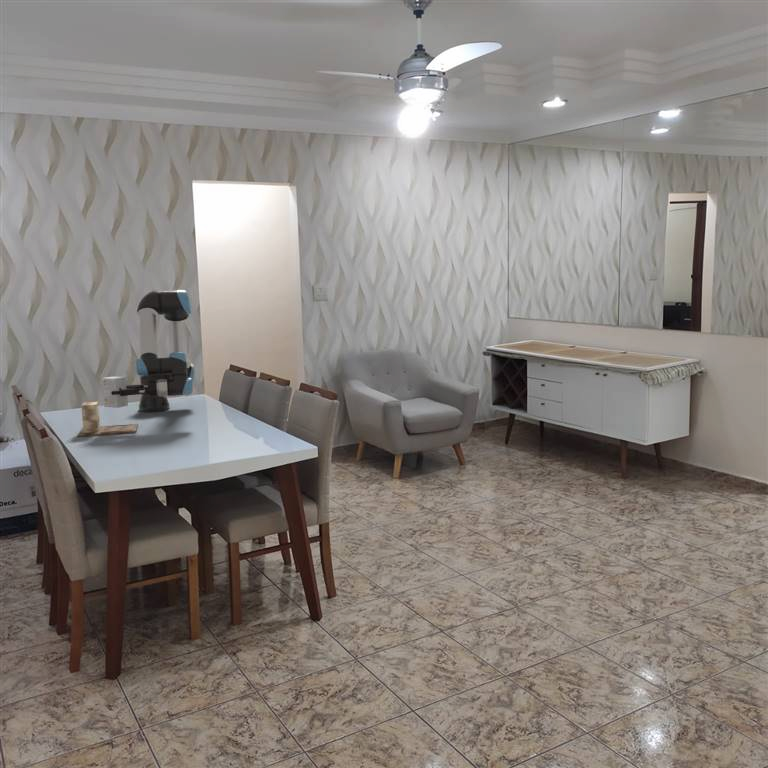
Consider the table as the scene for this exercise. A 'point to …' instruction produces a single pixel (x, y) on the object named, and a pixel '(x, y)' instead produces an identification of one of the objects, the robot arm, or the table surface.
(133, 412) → the table surface
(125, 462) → the table surface
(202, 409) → the table surface
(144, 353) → the robot arm
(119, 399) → the small box
